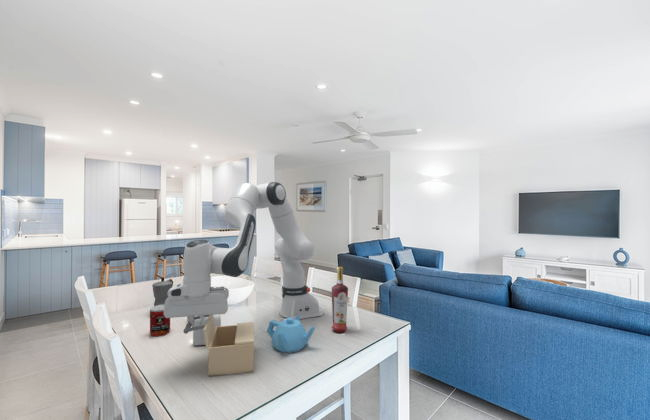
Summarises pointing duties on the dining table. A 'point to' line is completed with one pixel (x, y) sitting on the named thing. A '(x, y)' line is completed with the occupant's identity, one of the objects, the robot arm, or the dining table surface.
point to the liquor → (339, 303)
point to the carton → (232, 349)
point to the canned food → (158, 321)
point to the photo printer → (199, 334)
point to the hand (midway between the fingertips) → (196, 328)
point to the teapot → (289, 335)
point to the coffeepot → (161, 291)
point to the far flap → (207, 329)
